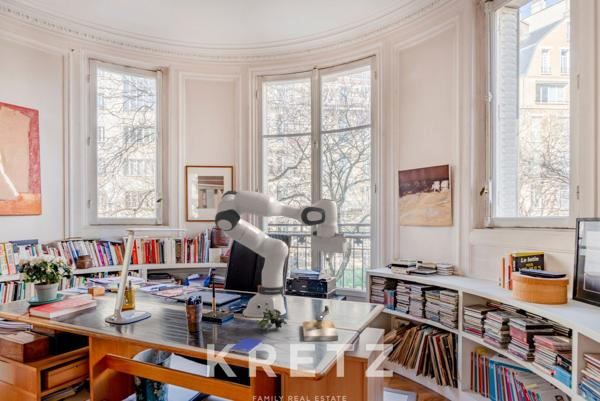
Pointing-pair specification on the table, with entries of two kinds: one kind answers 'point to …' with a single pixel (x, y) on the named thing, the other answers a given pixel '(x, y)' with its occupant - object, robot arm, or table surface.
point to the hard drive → (246, 345)
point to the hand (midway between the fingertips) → (328, 261)
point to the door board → (319, 331)
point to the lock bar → (322, 314)
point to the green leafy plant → (271, 319)
